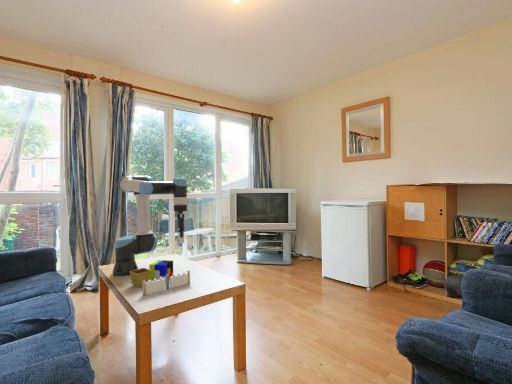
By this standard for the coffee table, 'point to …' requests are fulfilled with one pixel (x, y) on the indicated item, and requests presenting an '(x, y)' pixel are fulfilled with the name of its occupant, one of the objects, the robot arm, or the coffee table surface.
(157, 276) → the puzzle toy
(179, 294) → the coffee table surface
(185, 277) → the fence wing
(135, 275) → the flower pot
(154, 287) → the fence fixed
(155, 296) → the coffee table surface
